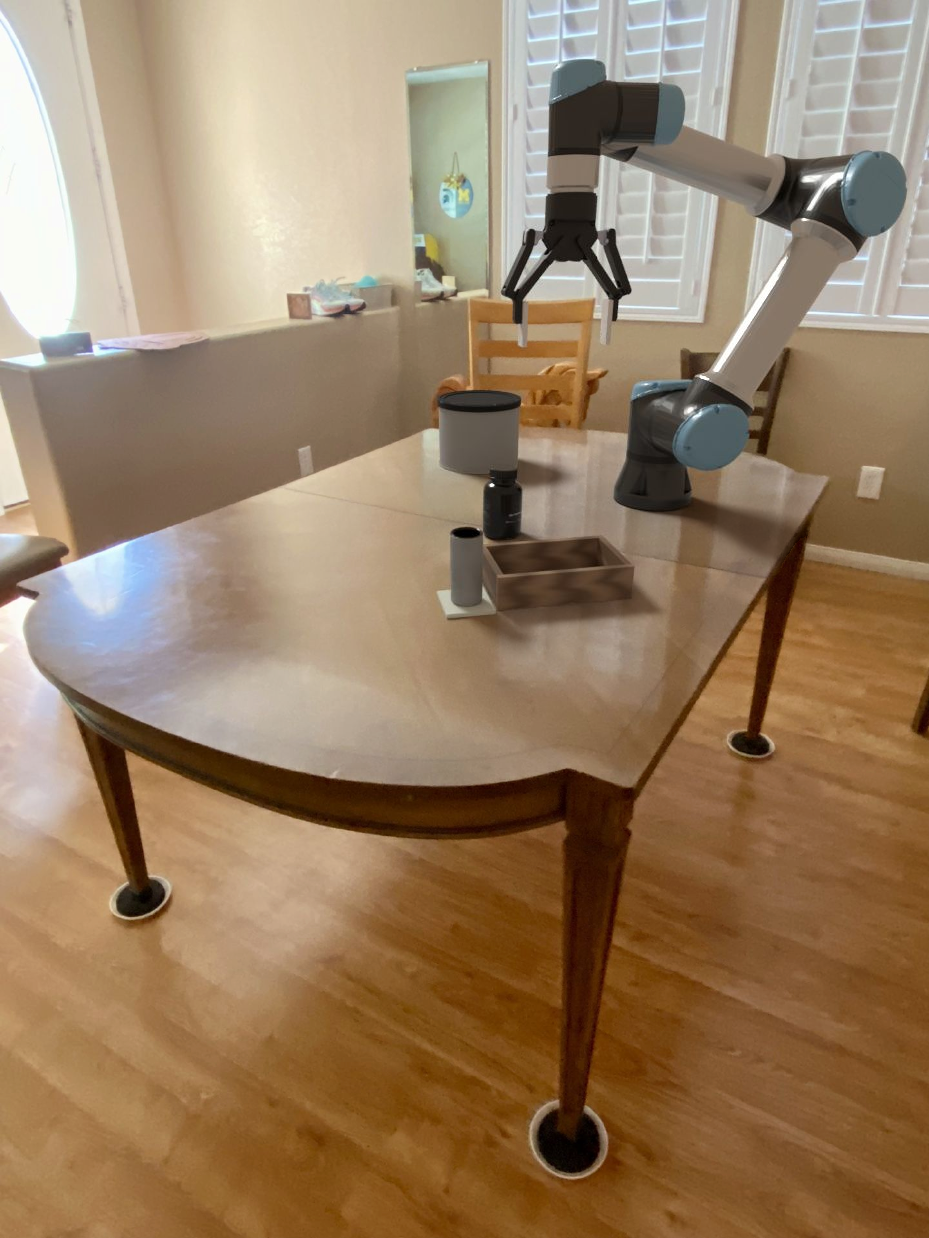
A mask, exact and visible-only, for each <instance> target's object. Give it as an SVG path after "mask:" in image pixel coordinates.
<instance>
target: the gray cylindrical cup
mask: <svg viewBox="0 0 929 1238" xmlns="http://www.w3.org/2000/svg"><path fill="white" fill-rule="evenodd" d="M483 544H484V533H483V529H482V530H481V529H480V528H478V527H474V526H460V527H456V528H453V529H451V531H449V547H450V548H449V551H450V552H449V555H450V556H449V559H450V560H449V561H450V566H449V567H450V569H449V571H450V577H449V578H450V582H449V583H450V590H451V601H452V602H453V603H454V604H456V605H459V606H474V605H477V604H479V603H480V602H481V601H482V587H483Z"/></svg>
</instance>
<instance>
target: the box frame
mask: <svg viewBox="0 0 929 1238" xmlns="http://www.w3.org/2000/svg"><path fill="white" fill-rule="evenodd" d="M634 575H635V566H634V564H633V563H631V561H630V560H628V559H627V558H626V557H625V556H624V555H623V554H622V553H621V552H620V551H619V550H618V549H617V548H616V547H615V546H614V545H613V543H611V542H610V541H609V540H608V539H607V538H606V537H605V536H604V535H602V534H600V535H590V536H589V535H588V536H575V537H563V538H562V537H561V538H548V539H537V540H523V541H509V542H497V543H483V583H482V586H483V587H484V589H485V591H486V593H487V595H488V597H489V598H490V600H491V602H492V604H493V606H494V608H495V610H496V611H506V610H508V611H509V610H517V609H529V608H540V607H549V606H550V607H553V606H562V605H572V604H573V605H574V604H584V603H594V602H604V601H605V602H606V601H607V602H608V601H615V600H616V601H617V600H618V601H619V600H626V599H627V600H628V599H629V600H630V599H632V596H633V595H632V594H633V585H634Z"/></svg>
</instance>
